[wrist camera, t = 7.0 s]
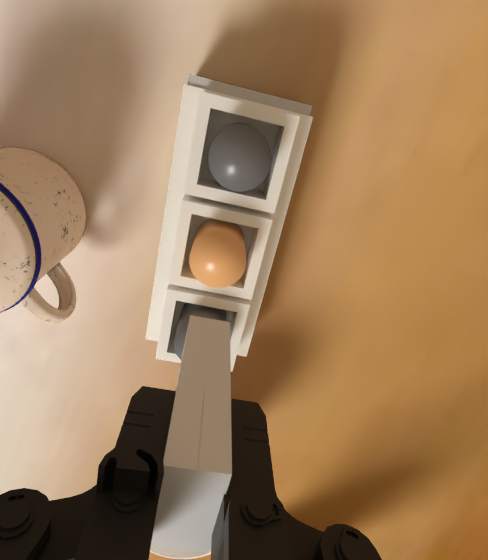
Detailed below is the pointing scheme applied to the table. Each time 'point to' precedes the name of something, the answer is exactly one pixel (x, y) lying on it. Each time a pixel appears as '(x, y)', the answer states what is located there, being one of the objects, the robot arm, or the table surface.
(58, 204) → the teacup with lid
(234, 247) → the brown egg
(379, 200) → the table surface
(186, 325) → the dark grey egg
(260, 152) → the grey egg
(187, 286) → the traffic light
